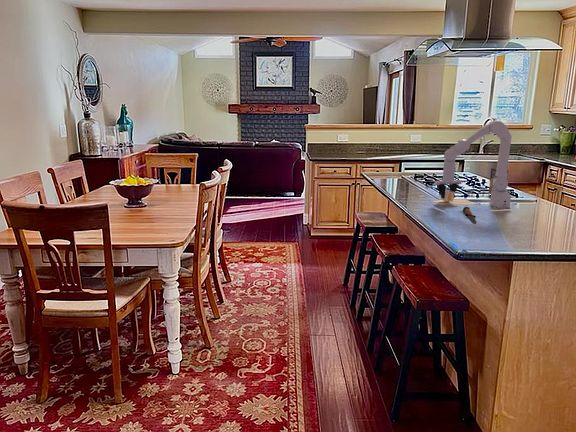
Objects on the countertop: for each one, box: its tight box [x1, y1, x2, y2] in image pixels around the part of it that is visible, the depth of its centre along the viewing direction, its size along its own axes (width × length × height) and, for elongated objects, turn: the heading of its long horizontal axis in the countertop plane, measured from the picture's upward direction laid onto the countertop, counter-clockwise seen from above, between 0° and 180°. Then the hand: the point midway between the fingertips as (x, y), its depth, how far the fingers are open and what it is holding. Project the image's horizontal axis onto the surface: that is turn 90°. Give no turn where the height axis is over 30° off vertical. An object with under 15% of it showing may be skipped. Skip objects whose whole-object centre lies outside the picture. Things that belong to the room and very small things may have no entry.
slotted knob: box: [439, 189, 455, 201], centre depth 239 cm, size 6×4×5 cm
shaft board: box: [429, 198, 478, 207], centre depth 240 cm, size 16×20×4 cm
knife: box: [462, 206, 477, 225], centre depth 209 cm, size 25×3×5 cm
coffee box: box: [488, 167, 509, 194], centre depth 259 cm, size 9×6×16 cm
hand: (446, 198), depth 239 cm, fingers closed on slotted knob, 4 cm apart
